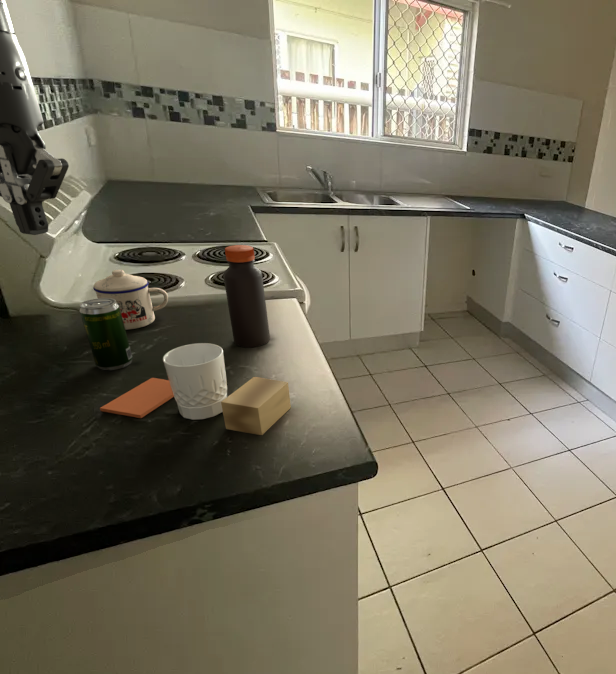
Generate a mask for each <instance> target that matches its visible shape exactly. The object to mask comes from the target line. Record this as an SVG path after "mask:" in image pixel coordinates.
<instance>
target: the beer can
mask: <svg viewBox="0 0 616 674" xmlns="http://www.w3.org/2000/svg"><path fill="white" fill-rule="evenodd" d="M79 314H80V318H81V322H82V324H83V327H84V330H85V334H86V337H87V341H88V344H89V348H90V350H91V353H92V357H93V361H94V363H95V366H96V367H97V368H98V369H100V370H101V371H115V370H116V371H117V370H119V369H123V368H126V367H128V366H130V365H131V364H132V362H133V359H134V357H133V353H132V350H131V345H130V342H129V339H128V335H127V330H125V327H124V323H123V319H122V315H121V312H120V308H119V305H118V304H117V303H116V300H115V299H111V298H92V299H87V300H85V301H82V302H81V303H79Z"/></svg>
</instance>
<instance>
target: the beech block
mask: <svg viewBox="0 0 616 674" xmlns="http://www.w3.org/2000/svg"><path fill="white" fill-rule="evenodd" d="M221 405H222V410H223V412H222V415H223V420H224V426H225V429H226V430H229V431H236V432H241V433H247V434H252V435H258V436H263V435H264V434H265V433H266V432H267V431H268V430H270V429H271V427H272V426H274V424H276V423H277V422H278V421H279V420H280V419H281V418H282V417H283V416H284V415H286V413H287V412H289V410H290V409H291V408H292V405H291V396H290V388H289V382H288V381H283V380H277V379H270V378H264V377H259V376H253V377H252V378H251V379H249V380H248V381H246V382H245V383H244V384H242V385H241V386H240V387H239V388H237V389H236V390H234V391H233V392H232V393H231V394H229V395H227V398H225V399H224V400H223V401H221Z"/></svg>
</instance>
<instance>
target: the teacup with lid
mask: <svg viewBox="0 0 616 674" xmlns="http://www.w3.org/2000/svg"><path fill="white" fill-rule="evenodd" d="M92 288H93V291H94V292H95V293H96V297H97V298H96V299H98V298H111V299H115V300H116V303H117V304H118V305H119V308H120V312H121V315H122V319H123V323H124V327H125V330H126V331H127V330H134V329H135V330H136V329H139V328H143V327H146V326H149V325H151V324H152V323H153V322H155V319H156V316H155V313H154V312H155V311H159V310H162V309H164V308H165V307H166V306H167V304H168V301H169V295H168V292H166V290H164V289H163V288H160V287H149V281H148V280H147V279H146V278H145V277H142V276H139V275H133V274H131V273H130V274H129V273H126V272H125V271H124V270H123V269H113V270H112V272H111V274H110V275H108V276H106V277H105V278H102V279H99V280H97V281H96V282H94V284H93V287H92ZM151 293H159V294H161V295H163V298H164V299H163V302H162V303H161V304H159V305H154V306H153V304H152V303H153V302H152V299H151V295H150V294H151Z"/></svg>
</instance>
